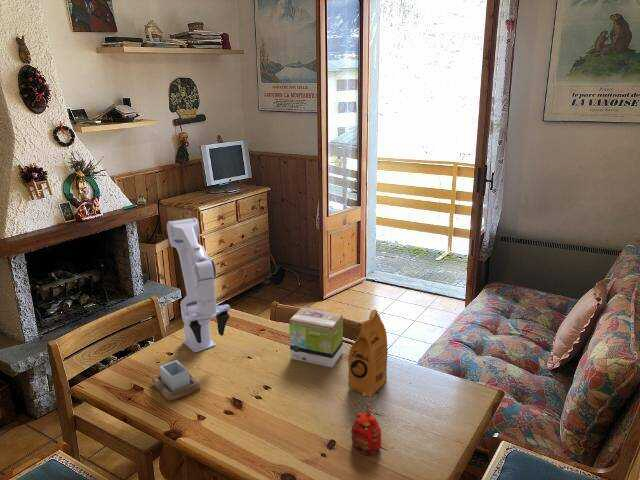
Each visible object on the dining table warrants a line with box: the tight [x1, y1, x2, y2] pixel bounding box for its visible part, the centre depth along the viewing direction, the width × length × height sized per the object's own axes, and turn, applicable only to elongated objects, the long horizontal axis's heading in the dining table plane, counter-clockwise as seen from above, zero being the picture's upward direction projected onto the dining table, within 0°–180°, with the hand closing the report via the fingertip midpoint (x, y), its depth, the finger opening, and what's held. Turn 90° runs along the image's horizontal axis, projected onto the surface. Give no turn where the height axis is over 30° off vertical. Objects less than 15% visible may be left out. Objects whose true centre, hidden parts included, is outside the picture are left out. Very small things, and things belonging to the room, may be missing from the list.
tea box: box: [288, 307, 344, 369], centre depth 168 cm, size 15×10×15 cm
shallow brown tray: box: [152, 373, 201, 404], centre depth 155 cm, size 12×10×2 cm
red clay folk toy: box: [350, 389, 382, 456], centre depth 127 cm, size 8×7×15 cm
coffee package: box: [347, 308, 389, 397], centre depth 152 cm, size 10×12×22 cm
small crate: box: [159, 359, 190, 392], centre depth 154 cm, size 8×6×6 cm
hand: (210, 338), depth 164 cm, fingers open, 7 cm apart
